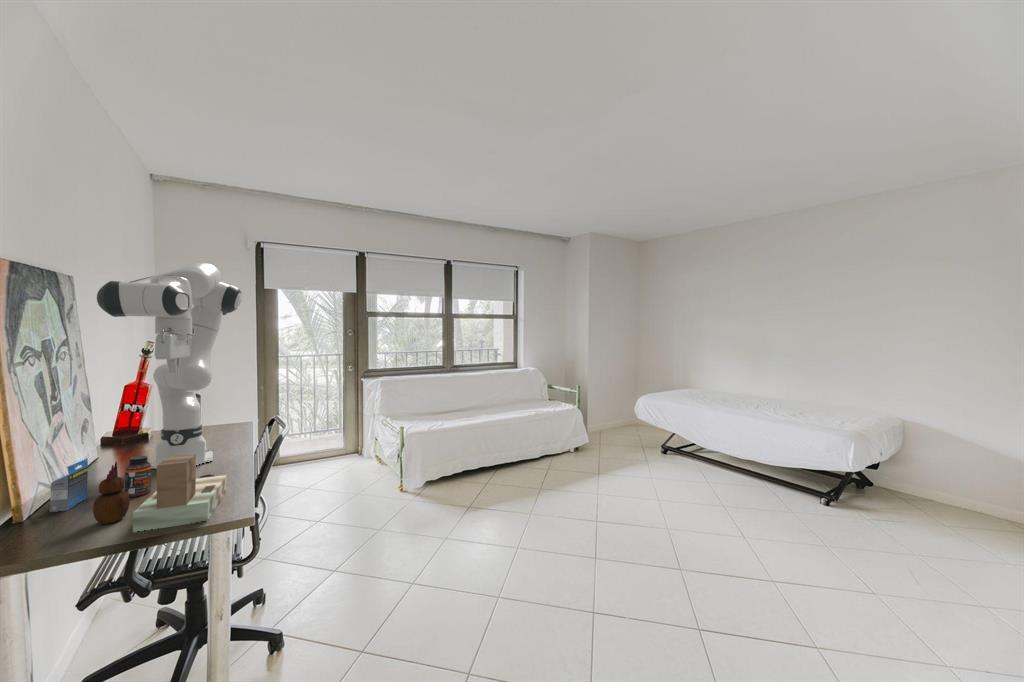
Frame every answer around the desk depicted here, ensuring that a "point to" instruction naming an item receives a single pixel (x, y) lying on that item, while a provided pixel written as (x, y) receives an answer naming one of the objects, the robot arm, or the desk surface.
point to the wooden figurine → (111, 499)
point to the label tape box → (69, 488)
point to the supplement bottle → (138, 476)
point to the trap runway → (195, 511)
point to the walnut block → (176, 481)
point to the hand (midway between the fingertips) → (173, 373)
